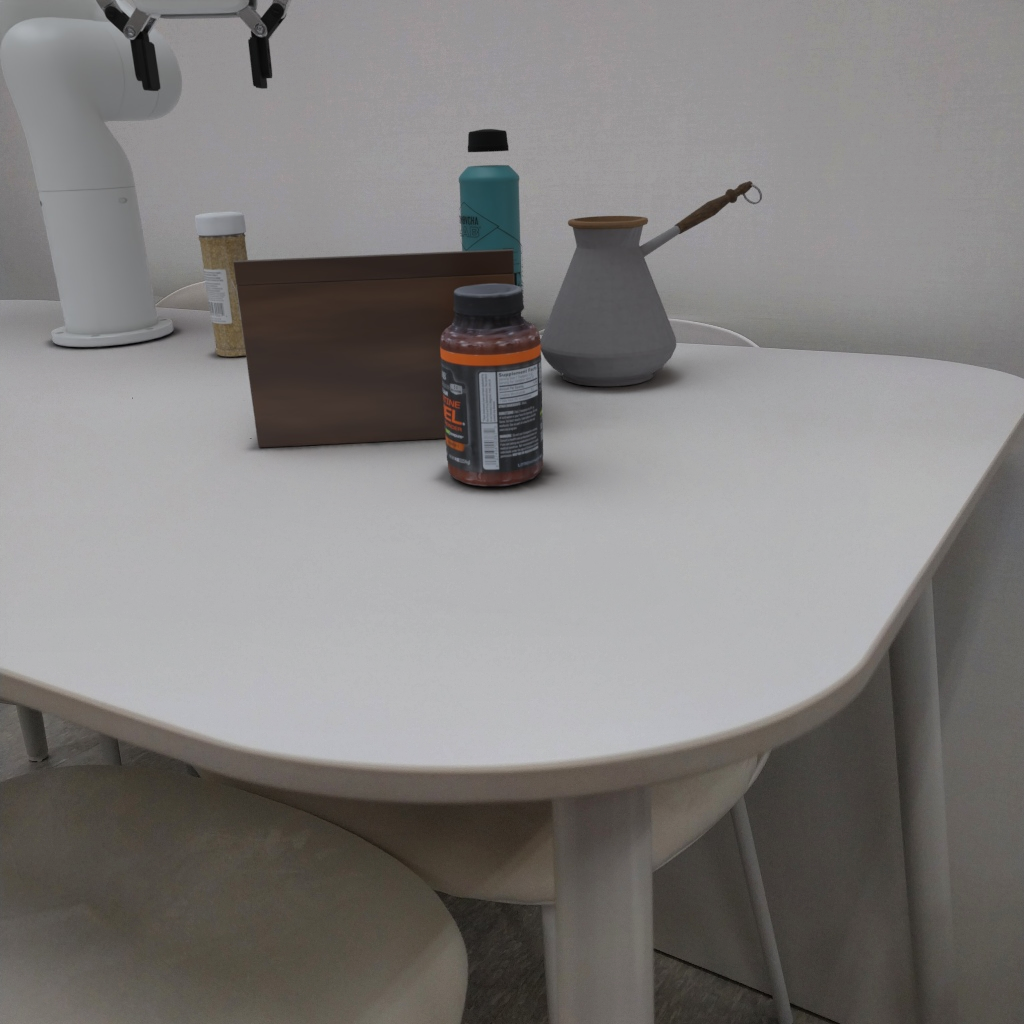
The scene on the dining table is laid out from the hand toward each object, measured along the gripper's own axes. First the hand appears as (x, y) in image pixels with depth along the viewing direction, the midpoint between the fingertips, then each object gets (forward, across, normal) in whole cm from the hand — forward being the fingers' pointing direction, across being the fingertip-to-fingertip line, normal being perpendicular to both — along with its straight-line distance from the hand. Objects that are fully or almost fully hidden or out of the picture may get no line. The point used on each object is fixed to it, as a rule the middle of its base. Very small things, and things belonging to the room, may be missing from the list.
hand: (206, 89), depth 87 cm
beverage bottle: (+24, -26, -8) cm, 36 cm away
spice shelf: (+24, -17, +24) cm, 38 cm away
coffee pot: (+24, -39, +14) cm, 47 cm away
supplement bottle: (+24, -24, +40) cm, 52 cm away
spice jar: (+24, 0, -1) cm, 24 cm away
